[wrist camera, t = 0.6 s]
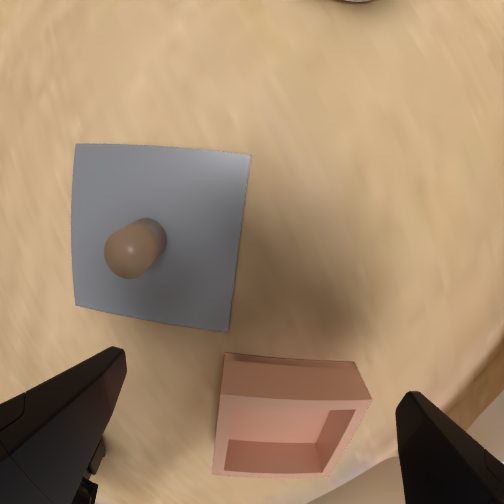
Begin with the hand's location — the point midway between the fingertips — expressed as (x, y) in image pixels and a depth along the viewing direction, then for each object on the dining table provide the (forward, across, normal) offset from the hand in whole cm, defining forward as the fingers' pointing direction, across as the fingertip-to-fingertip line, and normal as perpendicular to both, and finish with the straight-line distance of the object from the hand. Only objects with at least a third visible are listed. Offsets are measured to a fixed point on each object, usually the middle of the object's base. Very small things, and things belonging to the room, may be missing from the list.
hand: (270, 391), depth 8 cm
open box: (+12, -4, +15) cm, 20 cm away
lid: (+14, +9, +1) cm, 16 cm away
